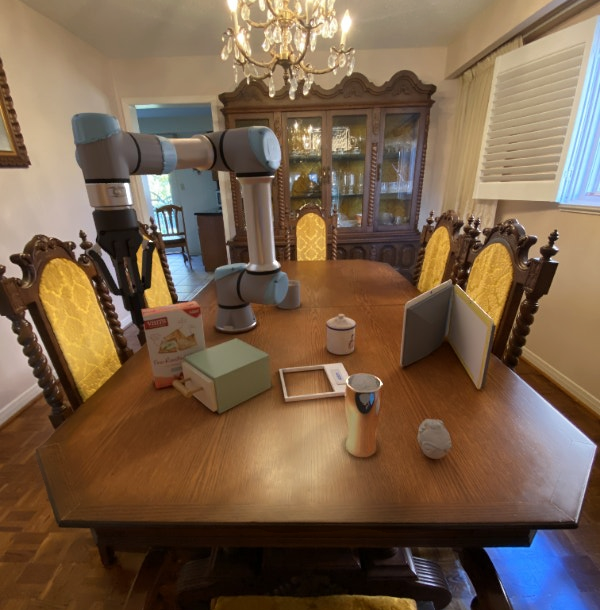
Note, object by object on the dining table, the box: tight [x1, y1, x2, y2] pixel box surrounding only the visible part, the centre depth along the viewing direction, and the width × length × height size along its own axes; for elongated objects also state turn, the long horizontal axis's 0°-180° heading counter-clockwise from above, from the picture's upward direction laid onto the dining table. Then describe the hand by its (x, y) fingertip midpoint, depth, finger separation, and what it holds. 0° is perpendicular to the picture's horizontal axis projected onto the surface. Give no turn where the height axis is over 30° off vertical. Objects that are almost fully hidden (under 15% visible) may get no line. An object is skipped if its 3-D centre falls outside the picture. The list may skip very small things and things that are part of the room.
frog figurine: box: [416, 418, 452, 460], centre depth 66 cm, size 6×7×7 cm
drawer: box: [171, 361, 218, 413], centre depth 86 cm, size 19×13×8 cm
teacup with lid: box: [325, 313, 357, 356], centre depth 109 cm, size 12×9×12 cm
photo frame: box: [278, 362, 350, 403], centre depth 92 cm, size 15×1×18 cm
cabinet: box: [184, 337, 272, 414], centre depth 88 cm, size 16×15×10 cm
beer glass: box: [344, 372, 383, 458], centre depth 66 cm, size 7×7×15 cm
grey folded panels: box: [399, 279, 497, 390], centre depth 100 cm, size 35×22×20 cm, turn 174°
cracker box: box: [141, 300, 207, 390], centre depth 92 cm, size 14×6×21 cm, turn 117°
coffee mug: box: [277, 279, 301, 310], centre depth 149 cm, size 13×10×10 cm
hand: (138, 323), depth 74 cm, fingers closed
